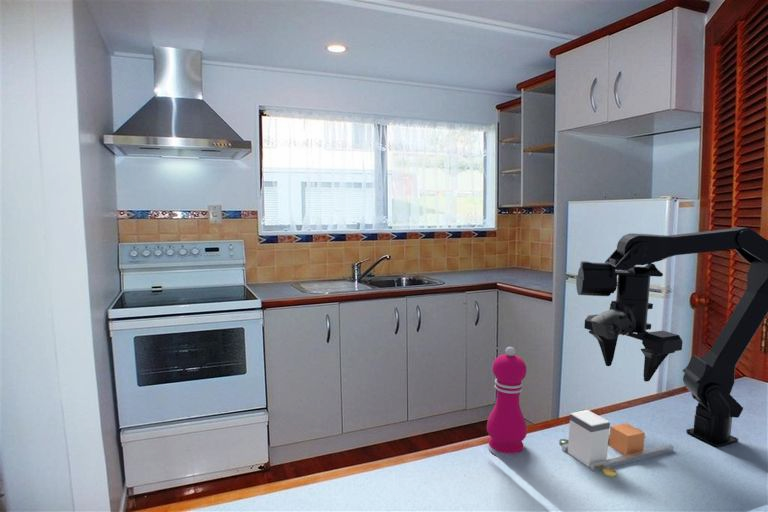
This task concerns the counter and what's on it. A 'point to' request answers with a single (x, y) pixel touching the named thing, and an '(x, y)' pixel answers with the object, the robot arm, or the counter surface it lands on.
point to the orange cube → (626, 439)
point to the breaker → (588, 437)
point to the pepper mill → (507, 404)
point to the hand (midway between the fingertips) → (626, 373)
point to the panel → (621, 457)
